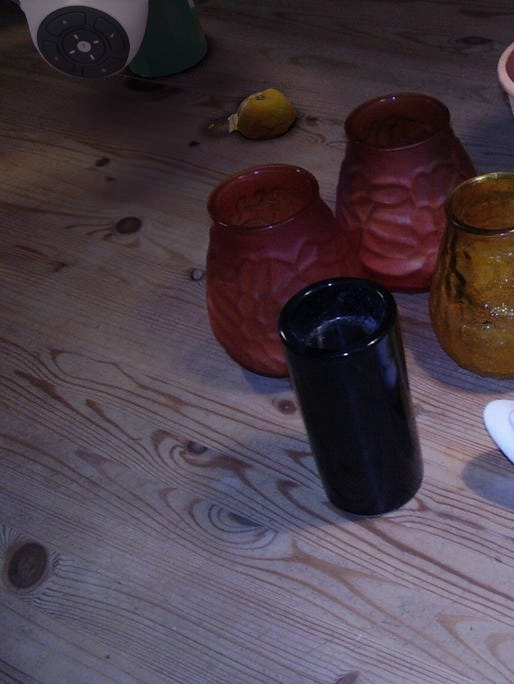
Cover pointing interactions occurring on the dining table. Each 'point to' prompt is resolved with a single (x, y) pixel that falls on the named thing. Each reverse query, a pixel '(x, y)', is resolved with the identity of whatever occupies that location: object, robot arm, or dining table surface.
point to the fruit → (263, 115)
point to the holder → (169, 39)
